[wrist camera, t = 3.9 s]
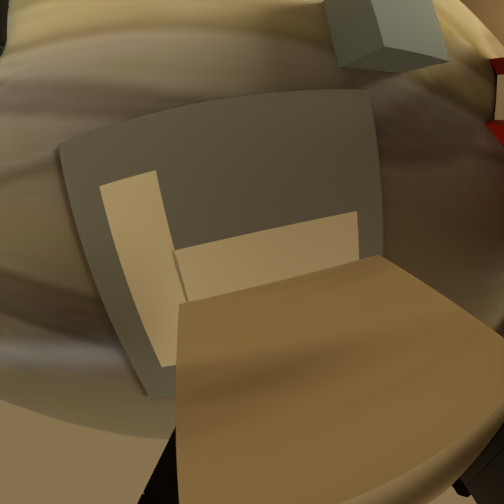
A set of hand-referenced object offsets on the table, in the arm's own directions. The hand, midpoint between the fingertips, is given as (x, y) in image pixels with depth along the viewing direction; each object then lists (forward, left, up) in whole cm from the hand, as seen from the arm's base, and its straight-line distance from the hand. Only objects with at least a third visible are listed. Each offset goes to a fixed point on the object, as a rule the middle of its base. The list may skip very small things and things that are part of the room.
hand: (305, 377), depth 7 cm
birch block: (0, 0, -1) cm, 1 cm away
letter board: (0, 0, -10) cm, 10 cm away
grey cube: (+13, -10, -10) cm, 19 cm away
